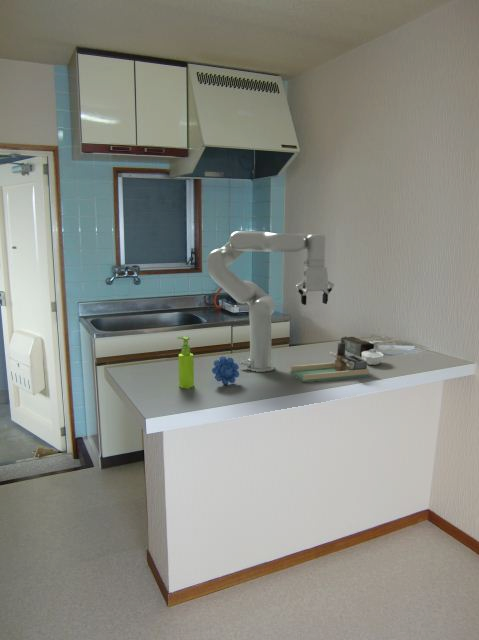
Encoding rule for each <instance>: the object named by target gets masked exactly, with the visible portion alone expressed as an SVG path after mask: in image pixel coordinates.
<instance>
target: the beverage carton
mask: <svg viewBox="0 0 479 640" xmlns="http://www.w3.org/2000/svg"><path fill="white" fill-rule="evenodd" d="M340 343H345V352H346V351H347V352H348V353H351V354H353V355H355V356H357V357H362V352H363V351H369V350H370V349H374V350H375V344H374V343H372V342H370V341H366V340H363V339H360V338H357V337H355V336H343V337H341V338H340Z"/></svg>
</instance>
